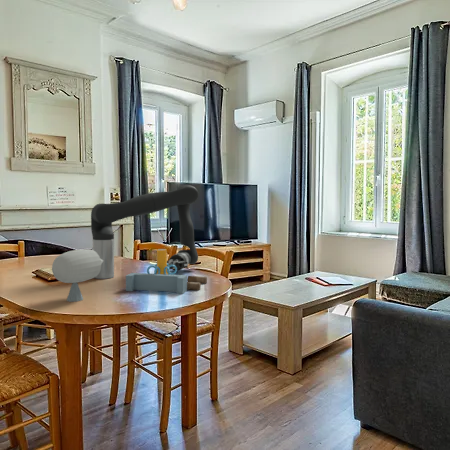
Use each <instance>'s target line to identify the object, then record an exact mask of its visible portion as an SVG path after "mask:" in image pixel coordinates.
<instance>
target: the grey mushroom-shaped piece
mask: <svg viewBox="0 0 450 450" xmlns="http://www.w3.org/2000/svg"><path fill="white" fill-rule="evenodd" d="M102 262H103V260H102V259H101V258H100V257H99V255H98V254H97V253H96V252H95V251H94V250H93V249H88V248H85V249H75V250H74V249H73V250H69V251H67V252H66V251H65V252H63V253H61V254H60V255H58V256H57V257H55V259H54V260H53V262H52V264H51V271H52V272H51V273H52V274H53V276H54V278H55V279H56V280H57V281H59V282H62V283H66V284H71V286H70V290H69V292H68V294H67V295H68V296H67V298H66V302H69V303H71V302H81V301H83V300H84V297H83V294H82V291H81V288H80V286H79V284H78V283H83V282H85V281H88V280H91V279H95V278H94V277H96V276H97V275H98V274H99V273H100V270H101V264H102Z"/></svg>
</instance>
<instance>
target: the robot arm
mask: <svg viewBox="0 0 450 450" xmlns="http://www.w3.org/2000/svg"><path fill="white" fill-rule="evenodd" d="M198 198H199V191H198V189H197V188H196V187H195V186H193V185H188V184H187V185H180V186H178V187H177V188H176V189H175V190H171V191H170V190H169V191H158V192H156V191H155V192H150V193H146V194H141V195H137V196H135V197H132V198H130V199H127V200H125V201H121V202H113V203H112V202H111V203H98V204H96V205H94V206H93V207H92V209H91V212H90V226H91V228H90V229H91V230H90V231H91V236H92V250H94V251H95V252H96V253H97V254H98V255H99V257H100V258H101V259H102V260H103V262H102V264H101V270H100V273H99V274H98V275H97V276H96V277H94V278H93V279H99V280H100V279H101V280H102V279H111V278H114V277H115V233H114V231H113V223H115V222H117V221H121V220H123V219H126V218H132V217H139V216H143V215H148V214H154V213H156V212H160V211H163V210H167V209H168V208H172V207H175V206H176V207H177V214H178V220H179V242H180V245H182V246H185V247H188V248H189V249H181V250H178V251H177V253H175V254H173V255H171V256H170V258H169V259H168V260H167V263H168V264H169V265H175V266H176V267H177V272H179V271H181V270H183V269H186V268H188V265H194V264H196V263H197V262H198V260H199V254H198V250H197V248H196V244H195V230H194V224H193V220H192V217H191V213H190V205H191V204H193V203H195V202H196V201H197V200H198ZM167 267H168V266H167ZM169 270H170V271H171V270H172V271H175V268H174V267H173V266H171V267H170V269H169Z"/></svg>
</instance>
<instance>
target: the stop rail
mask: <svg viewBox="0 0 450 450" xmlns="http://www.w3.org/2000/svg"><path fill="white" fill-rule="evenodd" d="M187 279H188V275H184V274H183V275H182V274H173V275H167V274H154V273H151V274H148V273H147V272H146V273H140V272H131V273H129V274H126V275H125V292H133V291H135V290H137V291H152V292H153V291H155V292H157V291H158V292H174V293H175V292H176V295H177V294H178V295H184V294H185V293H186V292H187V291H188V290H187V282H188V281H187Z"/></svg>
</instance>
